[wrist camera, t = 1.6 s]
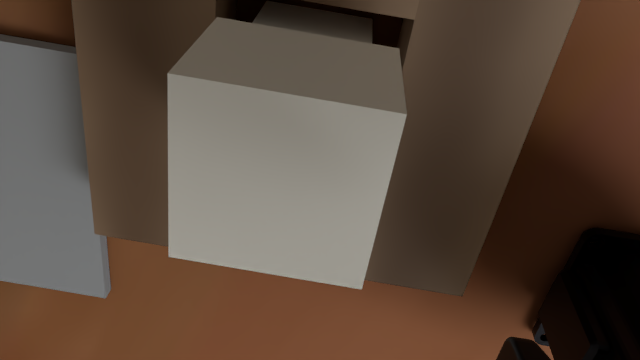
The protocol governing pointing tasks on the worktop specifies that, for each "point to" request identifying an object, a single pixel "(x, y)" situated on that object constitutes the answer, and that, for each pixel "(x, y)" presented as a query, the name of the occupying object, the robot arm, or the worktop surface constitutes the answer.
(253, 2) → the worktop surface
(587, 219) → the worktop surface
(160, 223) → the walnut bore block
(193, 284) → the worktop surface
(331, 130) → the end cover
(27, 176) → the grey mat
